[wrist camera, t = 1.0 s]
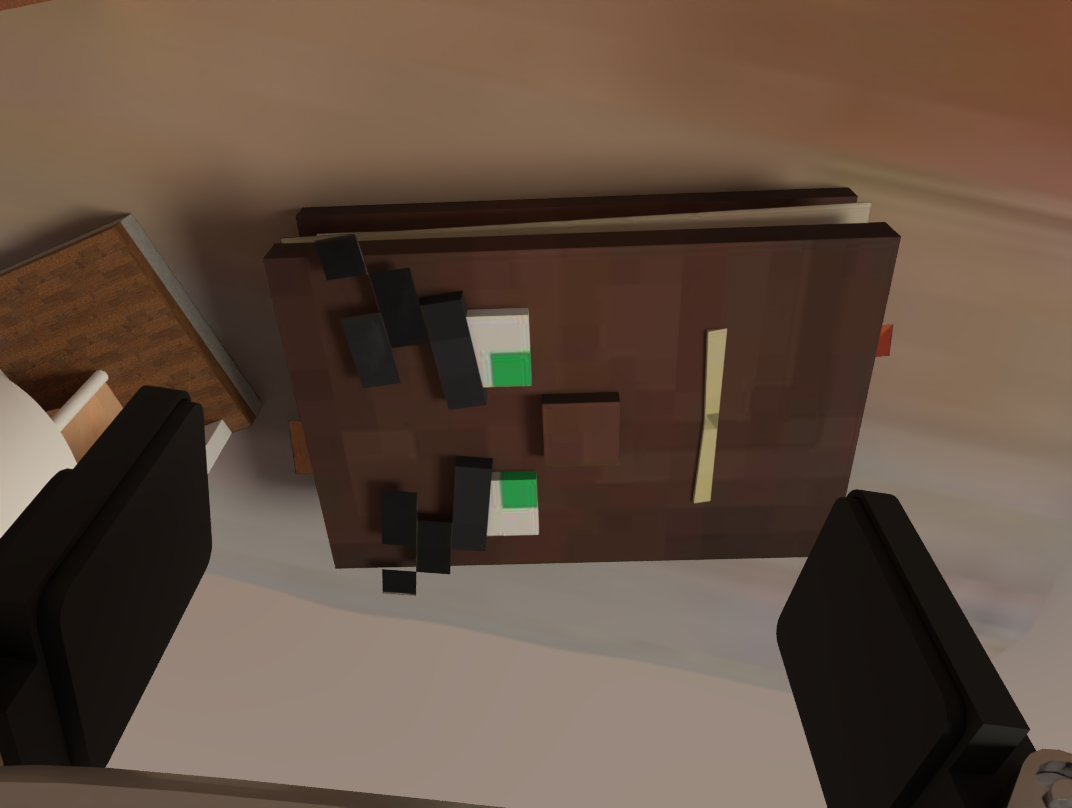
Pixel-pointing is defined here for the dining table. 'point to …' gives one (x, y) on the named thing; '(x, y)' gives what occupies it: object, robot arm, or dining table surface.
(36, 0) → the track
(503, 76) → the dining table surface
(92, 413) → the white tower
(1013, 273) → the dining table surface
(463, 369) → the decorative book
